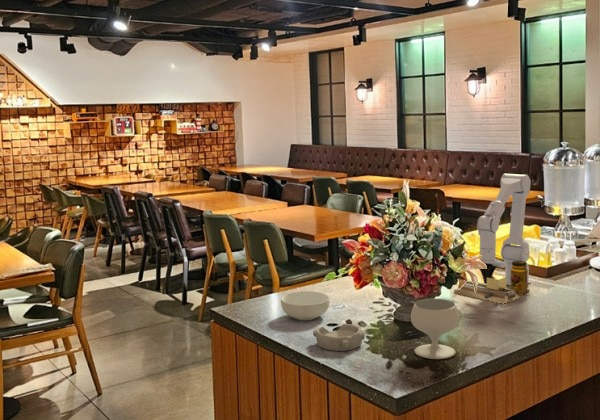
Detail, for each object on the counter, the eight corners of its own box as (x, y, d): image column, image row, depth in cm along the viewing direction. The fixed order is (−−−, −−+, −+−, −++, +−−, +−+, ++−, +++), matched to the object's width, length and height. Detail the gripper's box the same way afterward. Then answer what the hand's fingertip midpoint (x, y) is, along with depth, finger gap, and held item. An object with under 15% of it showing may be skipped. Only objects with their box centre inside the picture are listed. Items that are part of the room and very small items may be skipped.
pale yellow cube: (494, 288, 267) (494, 275, 266) (505, 291, 263) (506, 277, 262) (486, 291, 264) (486, 277, 263) (498, 293, 260) (498, 279, 259)
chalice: (401, 349, 213) (401, 301, 210) (440, 341, 219) (440, 294, 216) (429, 364, 200) (429, 313, 198) (468, 356, 206) (469, 306, 204)
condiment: (508, 294, 268) (509, 263, 266) (510, 288, 276) (510, 258, 274) (528, 295, 266) (529, 264, 264) (529, 289, 274) (530, 259, 272)
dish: (308, 344, 221) (307, 328, 220) (342, 334, 229) (342, 319, 228) (336, 356, 209) (336, 340, 208) (372, 346, 217) (372, 330, 216)
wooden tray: (471, 287, 279) (471, 278, 279) (520, 298, 263) (520, 288, 262) (452, 293, 272) (452, 284, 271) (502, 304, 255) (502, 295, 255)
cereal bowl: (274, 322, 243) (273, 302, 242) (291, 308, 258) (290, 289, 257) (321, 326, 237) (320, 306, 236) (335, 312, 253) (335, 292, 251)
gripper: (465, 246, 267) (464, 281, 269) (498, 252, 256) (497, 288, 258) (476, 244, 271) (476, 278, 273) (509, 249, 260) (508, 285, 262)
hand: (487, 283), depth 266 cm, fingers closed
